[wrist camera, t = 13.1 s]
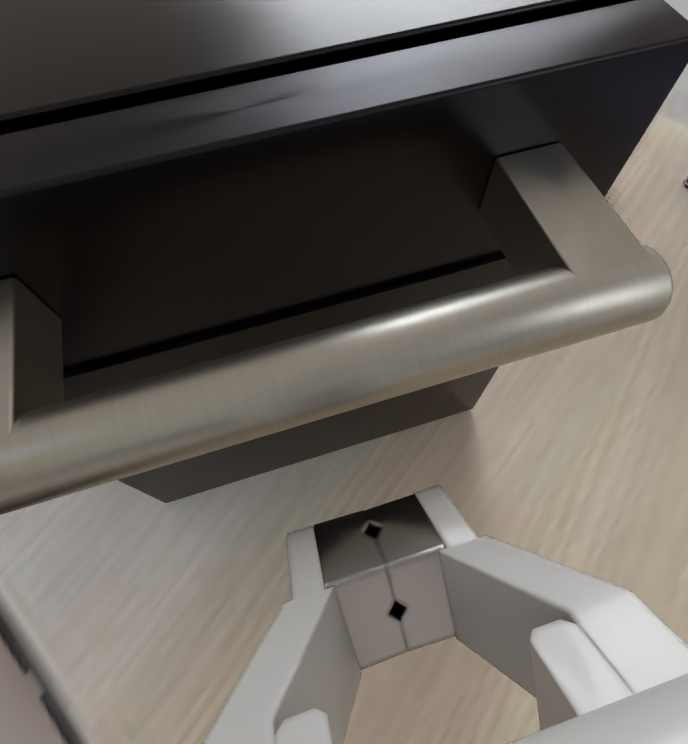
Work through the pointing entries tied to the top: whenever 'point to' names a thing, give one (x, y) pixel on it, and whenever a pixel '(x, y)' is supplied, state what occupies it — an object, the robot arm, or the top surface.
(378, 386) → the oven door
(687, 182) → the medicine box
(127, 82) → the oven
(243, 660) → the top surface
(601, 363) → the top surface
